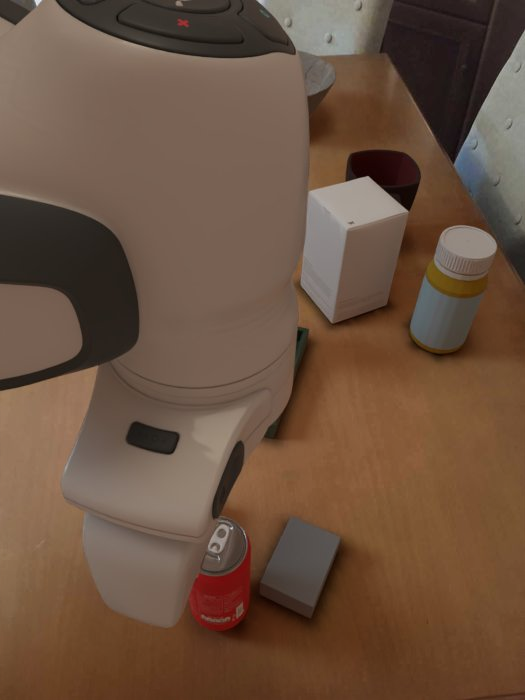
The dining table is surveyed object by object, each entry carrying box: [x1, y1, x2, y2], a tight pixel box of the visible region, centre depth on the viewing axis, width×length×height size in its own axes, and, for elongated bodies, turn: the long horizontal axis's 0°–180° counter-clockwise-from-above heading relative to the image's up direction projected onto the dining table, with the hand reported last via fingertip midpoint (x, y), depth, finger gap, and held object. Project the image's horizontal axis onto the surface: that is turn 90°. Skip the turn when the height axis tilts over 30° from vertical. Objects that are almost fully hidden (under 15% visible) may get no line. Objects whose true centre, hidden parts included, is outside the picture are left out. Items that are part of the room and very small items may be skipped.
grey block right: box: [258, 515, 342, 619], centre depth 54 cm, size 5×7×3 cm
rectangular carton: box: [300, 176, 410, 325], centre depth 76 cm, size 9×9×15 cm
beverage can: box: [188, 515, 252, 632], centre depth 49 cm, size 5×5×12 cm
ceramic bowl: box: [297, 49, 337, 118], centre depth 111 cm, size 22×23×10 cm
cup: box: [344, 148, 422, 213], centre depth 85 cm, size 10×14×12 cm
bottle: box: [409, 224, 498, 355], centre depth 71 cm, size 7×7×15 cm
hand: (215, 497), depth 39 cm, fingers open, 8 cm apart
